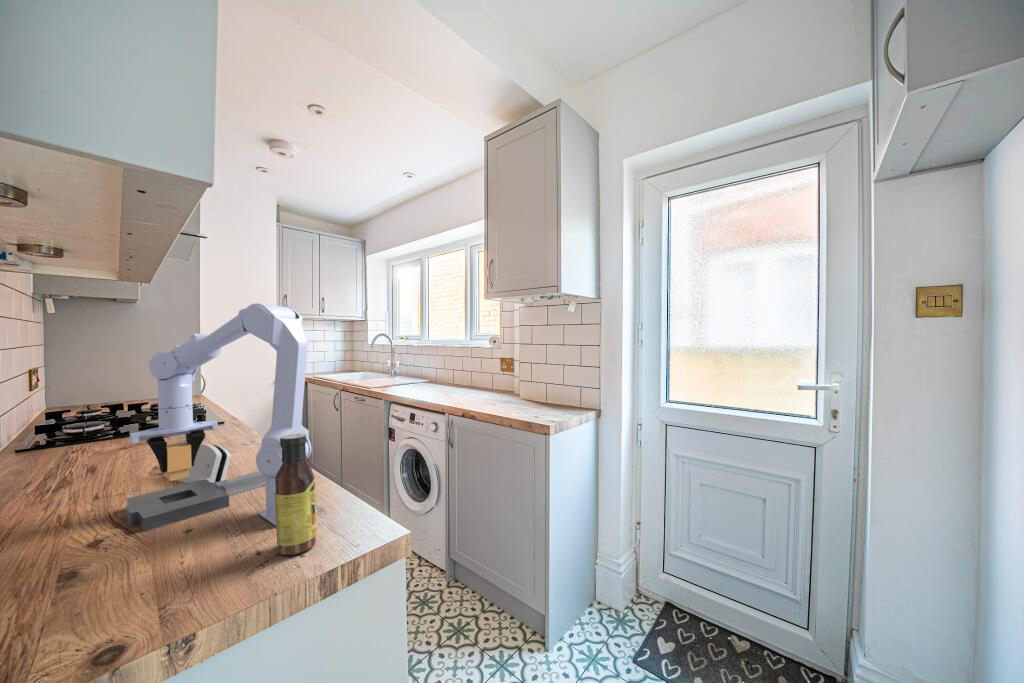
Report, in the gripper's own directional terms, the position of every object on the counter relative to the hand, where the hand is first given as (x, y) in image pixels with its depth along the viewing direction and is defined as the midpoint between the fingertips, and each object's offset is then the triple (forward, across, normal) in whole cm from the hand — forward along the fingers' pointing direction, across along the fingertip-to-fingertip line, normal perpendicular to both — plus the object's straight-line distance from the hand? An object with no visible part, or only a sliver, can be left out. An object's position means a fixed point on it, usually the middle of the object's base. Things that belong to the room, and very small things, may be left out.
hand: (177, 468), depth 87 cm
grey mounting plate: (+9, -6, 0) cm, 10 cm away
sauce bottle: (+9, -8, +38) cm, 40 cm away
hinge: (+9, -9, -18) cm, 22 cm away
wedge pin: (+2, 0, 0) cm, 2 cm away
